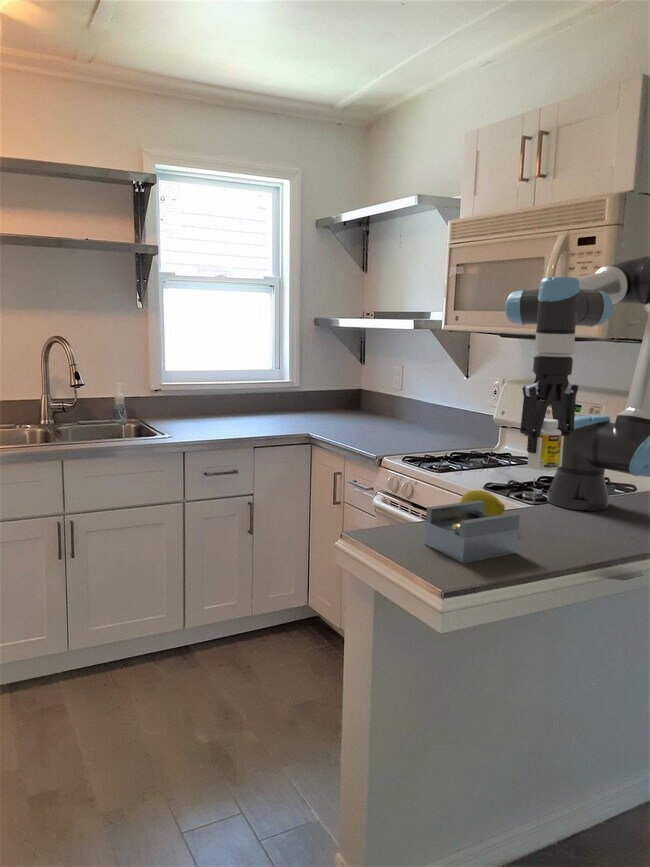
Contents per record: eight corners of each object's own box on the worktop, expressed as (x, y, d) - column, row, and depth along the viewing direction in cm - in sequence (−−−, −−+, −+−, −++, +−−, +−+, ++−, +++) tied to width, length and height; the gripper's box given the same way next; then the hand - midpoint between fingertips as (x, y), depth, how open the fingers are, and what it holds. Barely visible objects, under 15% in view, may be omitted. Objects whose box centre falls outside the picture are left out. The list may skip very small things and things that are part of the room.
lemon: (449, 522, 156) (451, 489, 155) (468, 516, 161) (471, 484, 160) (489, 534, 148) (492, 498, 147) (508, 527, 154) (511, 493, 152)
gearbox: (476, 535, 147) (479, 500, 145) (516, 553, 136) (519, 514, 135) (424, 544, 140) (426, 507, 139) (462, 563, 130) (465, 523, 128)
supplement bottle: (546, 472, 137) (550, 422, 135) (524, 467, 142) (528, 419, 140) (564, 469, 140) (568, 420, 138) (542, 464, 145) (545, 417, 143)
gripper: (570, 353, 144) (561, 459, 148) (506, 354, 136) (498, 467, 139) (600, 355, 138) (589, 466, 142) (534, 356, 129) (525, 474, 133)
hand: (544, 466), depth 141 cm, fingers closed on supplement bottle, 6 cm apart
